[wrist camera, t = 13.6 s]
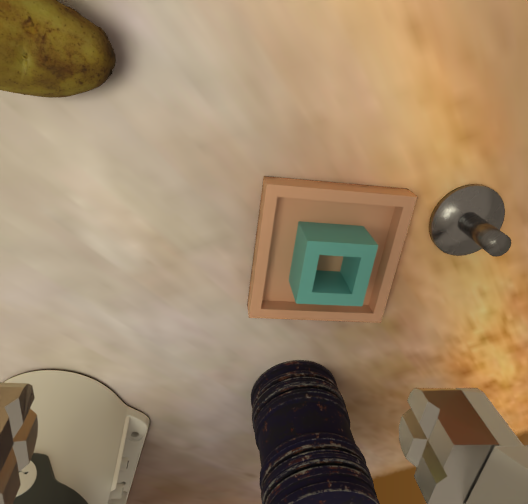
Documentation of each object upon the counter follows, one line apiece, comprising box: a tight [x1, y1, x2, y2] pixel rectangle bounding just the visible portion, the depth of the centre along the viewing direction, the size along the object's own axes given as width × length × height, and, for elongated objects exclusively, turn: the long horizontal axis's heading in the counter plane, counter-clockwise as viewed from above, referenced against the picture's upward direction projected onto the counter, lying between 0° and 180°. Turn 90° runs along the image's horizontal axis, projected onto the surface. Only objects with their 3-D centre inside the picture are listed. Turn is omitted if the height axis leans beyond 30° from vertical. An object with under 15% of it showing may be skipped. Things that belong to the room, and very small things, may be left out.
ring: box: [289, 221, 378, 306], centre depth 39 cm, size 6×6×4 cm
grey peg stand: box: [429, 184, 511, 256], centre depth 39 cm, size 7×7×6 cm
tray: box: [247, 176, 417, 323], centre depth 41 cm, size 13×13×2 cm
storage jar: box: [251, 360, 379, 504], centre depth 43 cm, size 10×10×15 cm
